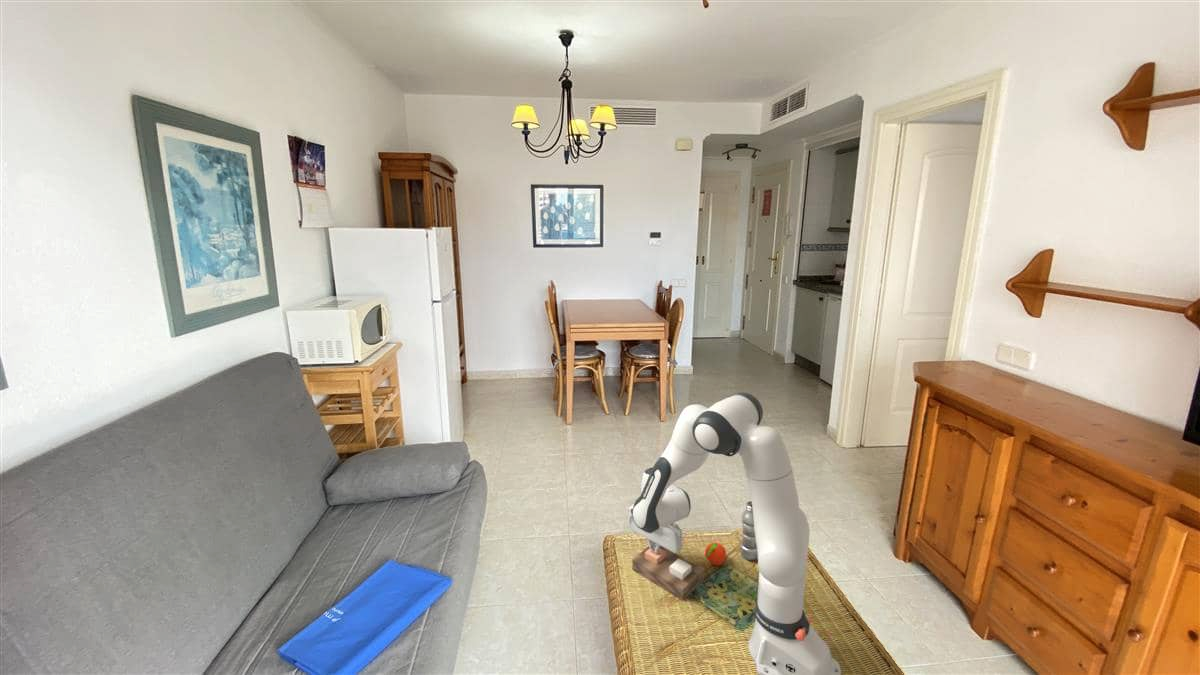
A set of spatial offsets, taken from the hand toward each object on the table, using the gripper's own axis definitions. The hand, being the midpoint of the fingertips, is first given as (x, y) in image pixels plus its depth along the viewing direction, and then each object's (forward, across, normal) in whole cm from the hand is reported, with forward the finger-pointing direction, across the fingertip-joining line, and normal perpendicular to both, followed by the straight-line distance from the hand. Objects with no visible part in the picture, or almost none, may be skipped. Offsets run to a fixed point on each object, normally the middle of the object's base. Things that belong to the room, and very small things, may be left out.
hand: (654, 550), depth 158 cm
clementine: (+6, -14, -15) cm, 22 cm away
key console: (+6, -5, 0) cm, 8 cm away
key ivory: (+3, -10, 0) cm, 11 cm away
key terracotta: (+3, 0, 0) cm, 3 cm away
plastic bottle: (+6, -21, -26) cm, 34 cm away
